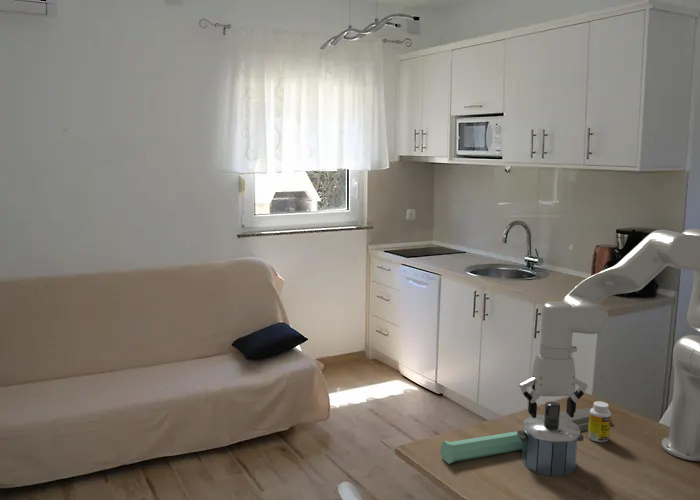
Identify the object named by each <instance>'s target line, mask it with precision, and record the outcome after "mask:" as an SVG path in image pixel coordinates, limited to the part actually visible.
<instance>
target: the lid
mask: <svg viewBox="0 0 700 500" xmlns="http://www.w3.org/2000/svg"><path fill="white" fill-rule="evenodd" d="M544 404H545V405H544V414H536V418H533V417H532V416H531V415H530V416H528V417H526V418H525V419H524V420H523V422H522V431H523V430H524V431H525V432H526V433H527V434H528V435H530V436H531V437H533V438H536V439H538V440H542V441H546V442H552V443H567V442H572V441H575V440H577V439H578V438H579V436H580V433H581V431H580V428H579V427H578V426H577V425H576V424H575V423H573V422H572V421H570V420H567V419H564V418H561V417H559V415H560V412H561V404H560V403H559V402H555V401H546V402H545V403H544ZM577 441H578V440H577Z"/></svg>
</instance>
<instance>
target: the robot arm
mask: <svg viewBox="0 0 700 500" xmlns="http://www.w3.org/2000/svg"><path fill="white" fill-rule="evenodd" d="M667 267H672V268H675V269H678V270H685V271H686V270H687V271H693V285H692V289H691V295H690V299H689V304H688V309H687V315H686V321H687V323H688V325H689V326H690V328H692V329H693V330H695V331H697V332H699V333H700V228H688V229H685V230H684V231H683V232H678V231H674V230H668V229H656V230H654V231H652V232H650V233H649V234H647V236H645V237H644V238H643V239H642V240H641V241H640V242H638V244H637V245H636V246H634V247H633V248H632V249H631V250H630V251H629V252H628V253H627V254H626V255H624V256H623V258H621V259H620V260H619V261H618V262H617V263H616V264H614V265H613V266H611V267H608V268H606V269H603V270H601V271H600V272H597V273H595V274H593V275H591V276H589V277H587V278H585V279H583V280H582V281H581V282H579V283H578V284H577V285H576V286H575V287H574V288H573V289H572V290H570V291H569V292H568V294H566V296H565V297H563V299H562V300H561V301H558V300H557V301H556V300H555V301H547V302H545V303H544V304H543V306H542V311H541V327H540V328H541V329H540V344H539V353H536V354H535V358H534V361H533V366H532V371H531V378H528V379H527V380H525V381H523V382H521V383H519V384H518V387H519V389H520V391H521V393H522V395H523V396H524V397H525V398H526V400H528V402H527V403H528V406H527V408H528V409H527V411H528V414H530V417H531V416H532V417H533V418H536V415H538V413H537V411H538V403H537V400H538V399H539V398H540V397H567V396H568V397H567V399H566V410H565V411H566V412H567V414H568V415H569V416H570V417H574V413H575V411H576V409H577V403H578V402H579V400H580V399H581V398H582V397H583V396H584V395H585V394H584V393H585V392H586V390H587V389H588V387H589V385H588V384H587V383H586V382H584V381H582V380H580V379H578V378H576V366H575V359H574V357H573V353H577V350H578V348H577V346H574V345H573V336H574V335H573V333H575V334H586V335H595V334H599V333H602V332H604V331H605V330H606V329H607V327H608V326H609V323H610V315H609V314H608V312H607V310H606V309H605V308H604V307H603V306H601V305H599V304H597V303H598V302H600V301H602V300H604V299H607V298H609V297H611V296H613V295H620V294H629V293H633V292H638V291H641V290H642V289H643V288H645V286H647V285H648V284H649V283H650V282H651V281H652V280H653V279H655V278H656V276H658V275H659V273H661V272H662V271H663V270H665V268H667ZM672 350H673V351H672V361H673V362H672V363H673V374H674V379H673V380H674V381H673V389H672V390H673V392H672V393H673V394H672V399H671V400H672V401H671V411H670V412H671V413H670V420H669V421H670V422H669V431H668V432H669V433H668V436H667V437H664V438H663V439H662V440H661V448H662V449H663V450H664V451H665V452H667V453H668V454H670V455H672V456H673V457H677V458H680V459H682V460H686V461H692V462H693V461H694V462H700V335H695V334H689V335H685V336H682V337H680V338H679V339H678V340H677V341H676V343H674V346H673V349H672ZM576 386H578V388H577V389H576ZM529 387H530V388H531V391H530V392H529V391H528V388H529Z"/></svg>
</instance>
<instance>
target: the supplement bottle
mask: <svg viewBox="0 0 700 500" xmlns="http://www.w3.org/2000/svg"><path fill="white" fill-rule="evenodd" d="M609 409H610V405H609V404H608V403H607V402H605V401H594V402H593V405H592V407H591V409H590V416H589V429H588V432H587V437H588V439H590V440H591V441H593V442H597V443H606V442H608V441H609V440H610V431H611V425H610V422H611V420H612V413H611V411H610V410H609Z"/></svg>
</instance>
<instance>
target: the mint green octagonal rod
mask: <svg viewBox="0 0 700 500" xmlns="http://www.w3.org/2000/svg"><path fill="white" fill-rule="evenodd" d="M517 431H518V430H517ZM517 431H510V432H503V433H497V434H492V435H491V434H490V435H485V436H479V437H472V438H468V439H467V438H466V439H460V440H455V441H448V440H444V441H442V443H441V444H440V454H441V457H442V460H443V459H444V460H445V461H446V462H447V463H448V464H447V463H446V462H445V461H444V460H443V461H444V462H445V463H446V464H447V465H452V463H454V462H460V461H467V460H472V459H473V460H474V459H477V458H483V457H488V456H496V455H499V454H506V453H511V452H512V453H513V452H516V451H517V452H518V451H522V444H523V442H522V441H521V440H520V438H519V437H518V435H517Z"/></svg>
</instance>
